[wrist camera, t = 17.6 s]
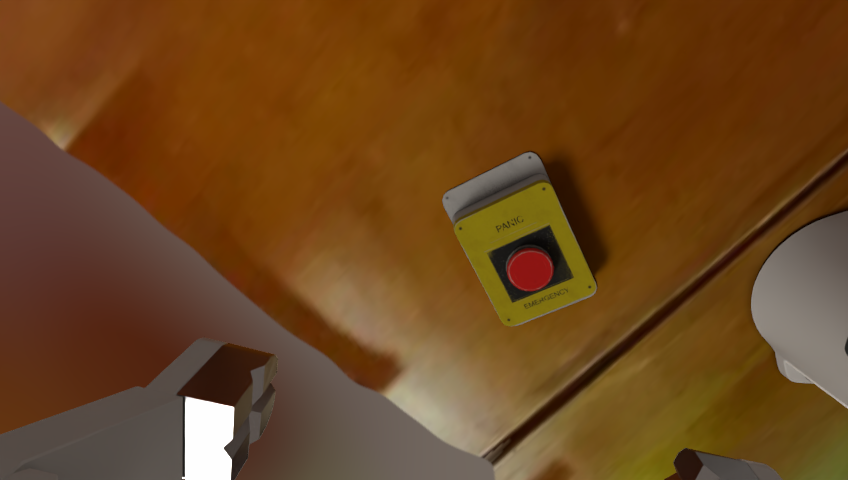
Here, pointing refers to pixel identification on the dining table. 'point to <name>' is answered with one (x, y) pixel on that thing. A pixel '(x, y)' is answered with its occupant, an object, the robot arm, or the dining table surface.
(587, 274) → the emergency button
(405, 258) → the dining table surface
